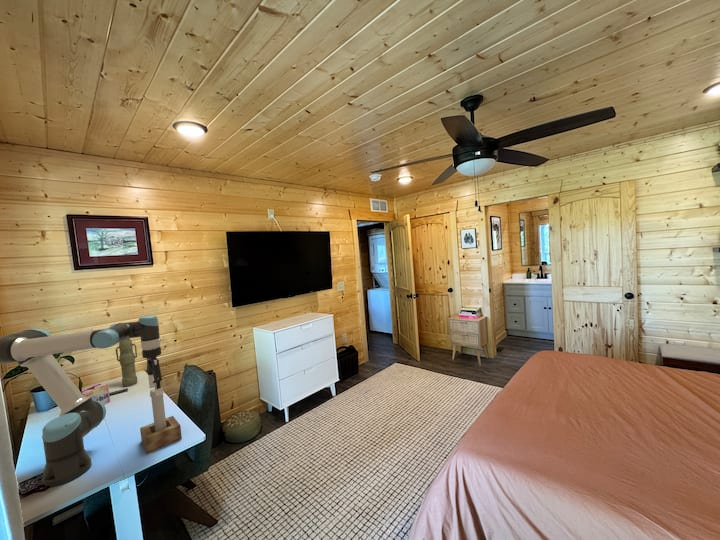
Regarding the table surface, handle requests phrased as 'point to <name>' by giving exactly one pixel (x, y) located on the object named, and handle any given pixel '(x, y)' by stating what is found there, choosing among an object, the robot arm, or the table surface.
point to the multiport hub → (118, 392)
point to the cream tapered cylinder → (158, 410)
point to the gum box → (98, 393)
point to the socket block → (160, 435)
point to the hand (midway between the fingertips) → (155, 391)
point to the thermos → (127, 362)
